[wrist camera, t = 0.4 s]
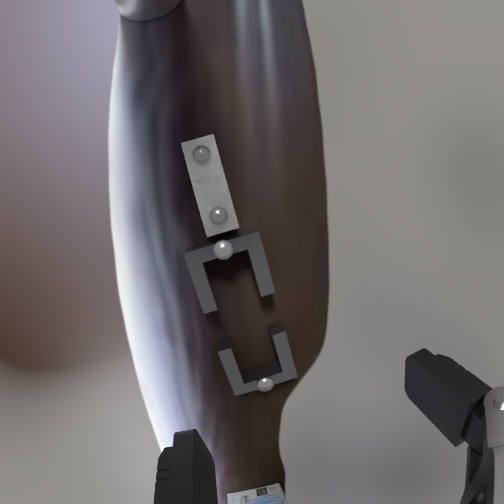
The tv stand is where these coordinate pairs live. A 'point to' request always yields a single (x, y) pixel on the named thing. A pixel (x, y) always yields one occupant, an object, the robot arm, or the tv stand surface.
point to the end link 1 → (224, 251)
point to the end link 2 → (261, 375)
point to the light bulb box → (259, 496)
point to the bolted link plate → (210, 185)
